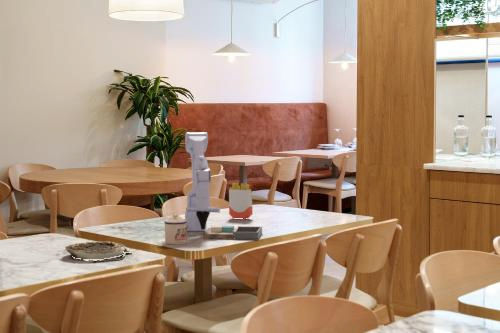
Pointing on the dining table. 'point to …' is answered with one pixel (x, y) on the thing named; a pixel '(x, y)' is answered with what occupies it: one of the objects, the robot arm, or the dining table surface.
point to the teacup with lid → (175, 230)
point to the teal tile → (227, 228)
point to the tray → (248, 233)
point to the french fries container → (240, 201)
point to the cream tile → (216, 228)
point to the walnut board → (218, 234)
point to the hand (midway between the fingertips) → (203, 229)
